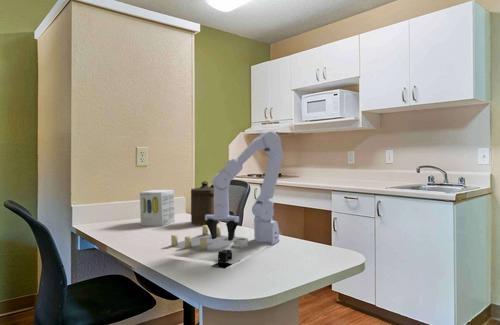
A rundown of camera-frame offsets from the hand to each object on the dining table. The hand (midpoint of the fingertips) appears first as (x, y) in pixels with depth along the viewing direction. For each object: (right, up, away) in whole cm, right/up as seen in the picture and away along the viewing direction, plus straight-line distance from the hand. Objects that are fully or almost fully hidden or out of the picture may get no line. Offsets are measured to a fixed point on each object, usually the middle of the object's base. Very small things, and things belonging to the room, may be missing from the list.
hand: (222, 239), depth 135 cm
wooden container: (-13, -2, +50) cm, 52 cm away
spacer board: (-6, -3, +3) cm, 8 cm away
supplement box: (-38, -3, +51) cm, 64 cm away
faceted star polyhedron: (+7, -3, -4) cm, 9 cm away
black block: (+3, -4, -22) cm, 22 cm away
